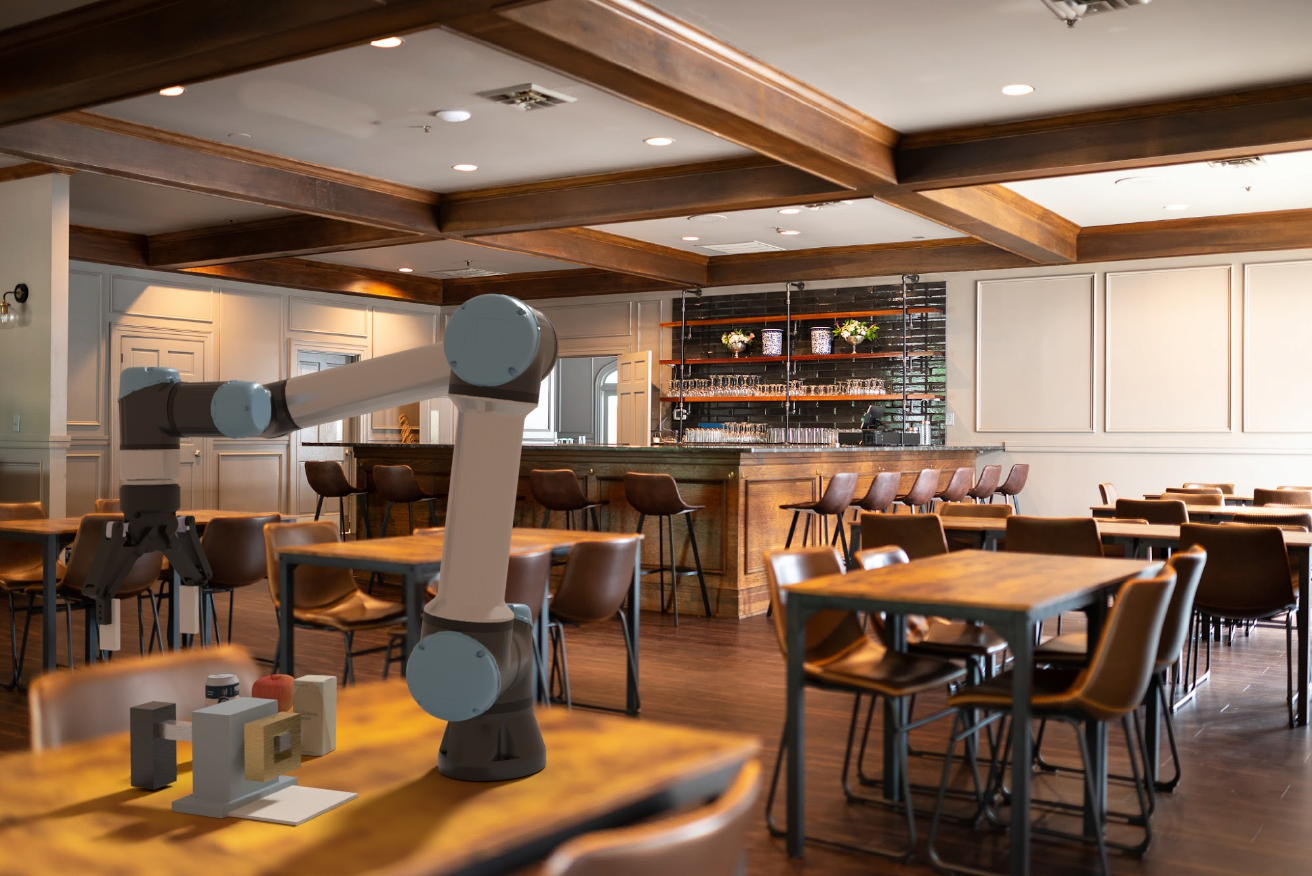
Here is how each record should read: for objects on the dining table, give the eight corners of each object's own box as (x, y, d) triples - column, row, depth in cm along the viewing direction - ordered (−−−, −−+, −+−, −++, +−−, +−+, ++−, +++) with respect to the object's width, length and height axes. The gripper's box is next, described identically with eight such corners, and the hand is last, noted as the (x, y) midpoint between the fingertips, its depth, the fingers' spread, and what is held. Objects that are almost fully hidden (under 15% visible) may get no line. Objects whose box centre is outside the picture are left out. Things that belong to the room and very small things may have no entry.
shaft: (297, 796, 149) (296, 714, 149) (275, 805, 146) (274, 721, 146) (154, 778, 158) (153, 701, 158) (130, 786, 155) (129, 707, 155)
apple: (302, 710, 199) (301, 664, 199) (291, 721, 192) (290, 672, 192) (258, 712, 199) (258, 665, 199) (246, 722, 191) (245, 673, 191)
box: (291, 754, 171) (290, 679, 171) (306, 747, 175) (306, 673, 175) (323, 756, 170) (322, 681, 170) (338, 749, 174) (337, 675, 174)
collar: (301, 767, 151) (300, 713, 151) (264, 782, 144) (263, 725, 144) (282, 765, 152) (281, 711, 152) (244, 779, 145) (244, 724, 145)
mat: (358, 796, 151) (358, 793, 151) (296, 825, 139) (296, 822, 139) (289, 788, 155) (289, 785, 155) (224, 815, 144) (224, 812, 144)
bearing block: (297, 786, 155) (296, 696, 155) (222, 818, 142) (220, 720, 142) (249, 780, 158) (248, 692, 158) (171, 811, 145) (170, 715, 145)
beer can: (228, 762, 167) (227, 679, 167) (198, 761, 168) (197, 678, 168) (246, 753, 172) (245, 672, 172) (217, 752, 173) (216, 671, 173)
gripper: (197, 479, 169) (198, 625, 169) (49, 486, 146) (50, 655, 146) (238, 479, 166) (239, 628, 166) (94, 486, 143) (95, 659, 143)
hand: (151, 641), depth 156 cm, fingers open, 13 cm apart
